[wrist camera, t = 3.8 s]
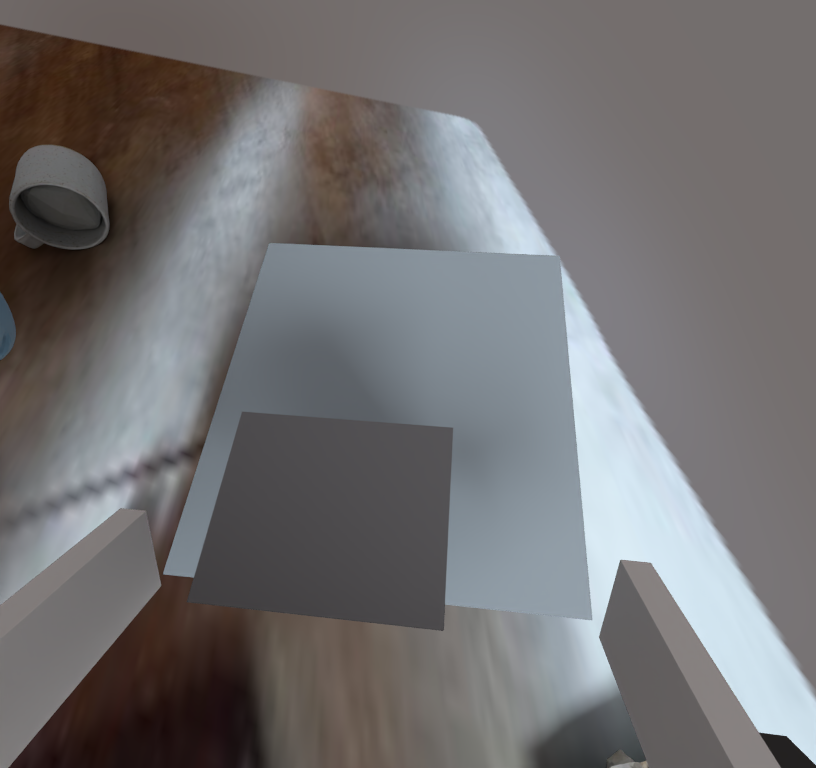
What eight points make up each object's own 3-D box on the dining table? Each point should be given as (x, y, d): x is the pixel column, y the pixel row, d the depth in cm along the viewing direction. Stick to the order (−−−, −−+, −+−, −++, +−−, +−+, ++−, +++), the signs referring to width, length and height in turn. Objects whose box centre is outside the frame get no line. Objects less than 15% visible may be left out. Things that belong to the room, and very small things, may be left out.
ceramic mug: (120, 190, 47) (67, 124, 41) (126, 237, 44) (70, 174, 37) (27, 219, 46) (-44, 156, 39) (26, 269, 43) (-52, 210, 36)
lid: (584, 618, 16) (785, 669, 7) (173, 574, 17) (-93, 570, 8) (555, 265, 24) (634, 79, 15) (273, 252, 25) (191, 73, 16)
